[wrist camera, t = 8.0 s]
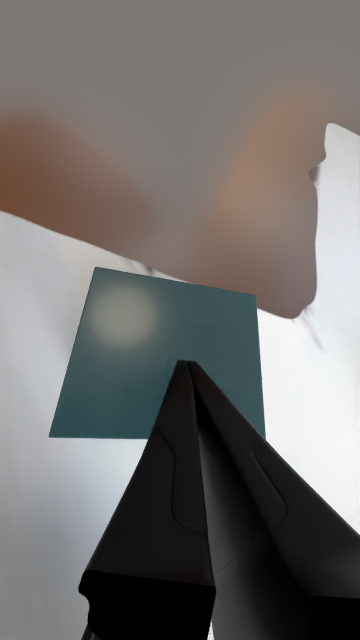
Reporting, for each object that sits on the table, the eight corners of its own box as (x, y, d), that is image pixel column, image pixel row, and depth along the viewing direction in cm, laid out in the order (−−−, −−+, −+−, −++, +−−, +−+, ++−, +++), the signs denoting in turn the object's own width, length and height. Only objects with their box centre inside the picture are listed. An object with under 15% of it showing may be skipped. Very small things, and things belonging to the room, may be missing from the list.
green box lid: (97, 272, 12) (94, 265, 11) (250, 299, 13) (256, 294, 13) (55, 432, 9) (47, 438, 8) (258, 437, 10) (266, 442, 10)
